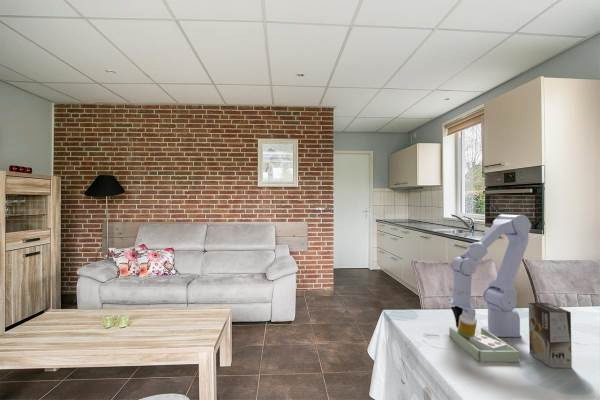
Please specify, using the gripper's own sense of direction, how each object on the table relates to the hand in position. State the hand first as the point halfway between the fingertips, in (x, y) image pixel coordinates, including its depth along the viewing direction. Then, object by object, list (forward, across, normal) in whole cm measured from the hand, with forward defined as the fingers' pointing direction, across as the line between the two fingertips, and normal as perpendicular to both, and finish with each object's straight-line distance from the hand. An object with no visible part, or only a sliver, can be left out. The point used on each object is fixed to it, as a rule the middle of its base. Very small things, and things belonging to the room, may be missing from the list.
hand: (460, 328), depth 111 cm
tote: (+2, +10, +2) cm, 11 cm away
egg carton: (+2, +14, +2) cm, 14 cm away
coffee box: (+2, +18, +18) cm, 26 cm away
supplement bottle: (+2, +2, +1) cm, 3 cm away
